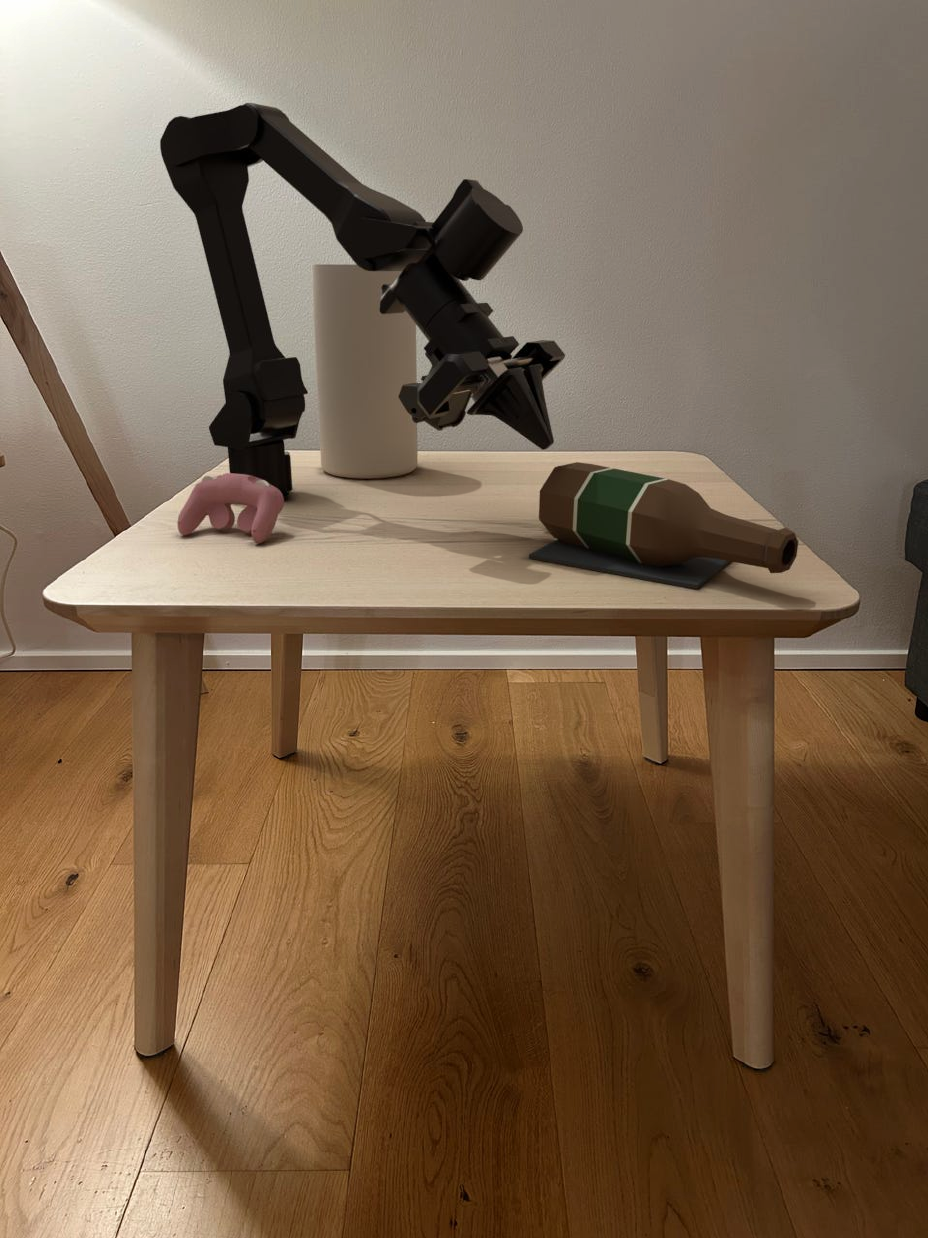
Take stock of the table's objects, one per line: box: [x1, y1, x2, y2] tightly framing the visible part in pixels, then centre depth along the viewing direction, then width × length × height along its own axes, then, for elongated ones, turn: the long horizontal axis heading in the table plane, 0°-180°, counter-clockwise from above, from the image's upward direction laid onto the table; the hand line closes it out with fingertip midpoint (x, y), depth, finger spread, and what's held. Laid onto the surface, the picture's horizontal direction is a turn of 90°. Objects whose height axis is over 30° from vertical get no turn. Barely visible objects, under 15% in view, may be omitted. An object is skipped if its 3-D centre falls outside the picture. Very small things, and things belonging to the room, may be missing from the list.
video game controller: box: [176, 472, 285, 545], centre depth 93 cm, size 10×5×7 cm, turn 71°
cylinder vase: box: [310, 263, 419, 480], centre depth 118 cm, size 12×12×25 cm
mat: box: [528, 539, 732, 590], centre depth 87 cm, size 16×12×1 cm
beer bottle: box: [538, 461, 800, 574], centre depth 83 cm, size 8×8×24 cm
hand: (548, 446), depth 87 cm, fingers closed
